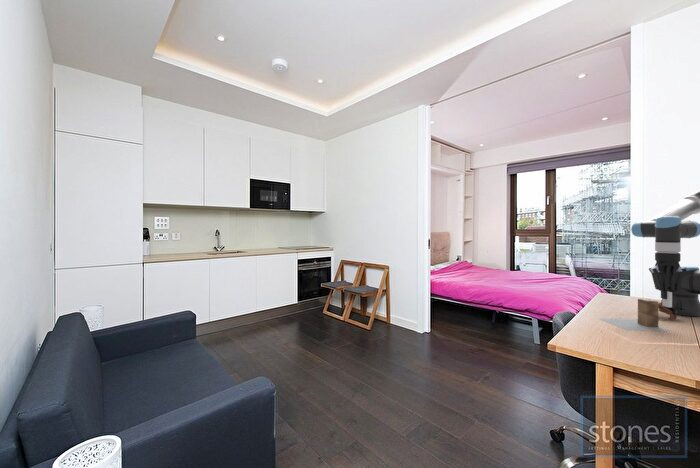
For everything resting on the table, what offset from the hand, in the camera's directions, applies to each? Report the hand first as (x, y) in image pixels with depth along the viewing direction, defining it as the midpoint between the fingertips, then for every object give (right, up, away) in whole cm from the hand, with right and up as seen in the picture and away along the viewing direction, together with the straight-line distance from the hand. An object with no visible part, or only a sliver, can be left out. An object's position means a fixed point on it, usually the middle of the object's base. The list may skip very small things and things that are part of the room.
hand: (667, 306), depth 128 cm
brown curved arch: (+10, -9, +13) cm, 18 cm away
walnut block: (-7, -9, +1) cm, 11 cm away
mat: (-12, -9, +3) cm, 15 cm away
